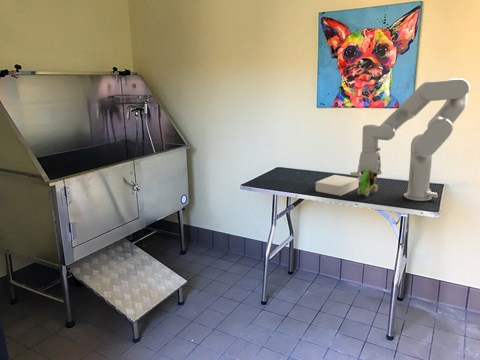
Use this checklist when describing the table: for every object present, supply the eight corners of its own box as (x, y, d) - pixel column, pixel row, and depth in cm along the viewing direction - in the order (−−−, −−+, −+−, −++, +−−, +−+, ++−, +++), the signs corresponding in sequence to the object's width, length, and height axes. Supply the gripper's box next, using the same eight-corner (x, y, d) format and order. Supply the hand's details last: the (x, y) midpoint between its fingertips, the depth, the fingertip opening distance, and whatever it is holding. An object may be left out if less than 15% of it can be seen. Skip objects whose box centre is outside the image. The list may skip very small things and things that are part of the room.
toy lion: (366, 197, 198) (368, 167, 194) (356, 195, 202) (357, 166, 198) (380, 189, 209) (381, 161, 206) (370, 188, 213) (371, 160, 209)
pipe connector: (368, 184, 224) (369, 167, 221) (350, 184, 226) (351, 167, 223) (367, 180, 233) (368, 163, 231) (349, 180, 235) (350, 163, 233)
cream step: (358, 187, 219) (358, 178, 218) (340, 195, 205) (341, 186, 204) (334, 183, 229) (334, 174, 228) (315, 190, 215) (315, 182, 214)
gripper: (388, 149, 197) (387, 185, 202) (358, 147, 208) (357, 181, 212) (382, 152, 192) (381, 188, 197) (351, 149, 203) (351, 184, 207)
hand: (369, 184), depth 204 cm, fingers closed on toy lion
